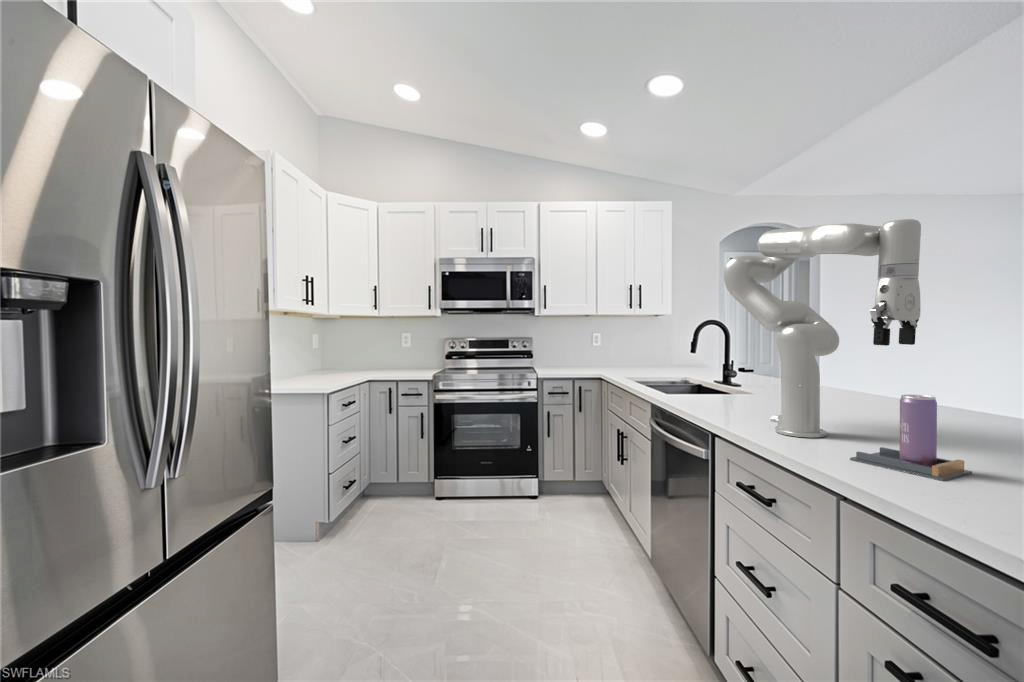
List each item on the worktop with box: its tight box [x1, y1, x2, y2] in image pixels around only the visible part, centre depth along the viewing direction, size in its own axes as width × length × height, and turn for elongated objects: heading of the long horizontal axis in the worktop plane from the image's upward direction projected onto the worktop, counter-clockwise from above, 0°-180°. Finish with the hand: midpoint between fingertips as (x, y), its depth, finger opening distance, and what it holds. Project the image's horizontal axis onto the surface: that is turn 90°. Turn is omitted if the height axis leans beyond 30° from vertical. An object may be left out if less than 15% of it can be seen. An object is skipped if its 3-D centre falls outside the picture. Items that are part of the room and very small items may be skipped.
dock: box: [849, 446, 973, 482], centre depth 101 cm, size 17×11×2 cm, turn 24°
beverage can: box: [899, 394, 938, 467], centre depth 99 cm, size 6×6×15 cm
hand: (894, 344), depth 112 cm, fingers open, 9 cm apart
